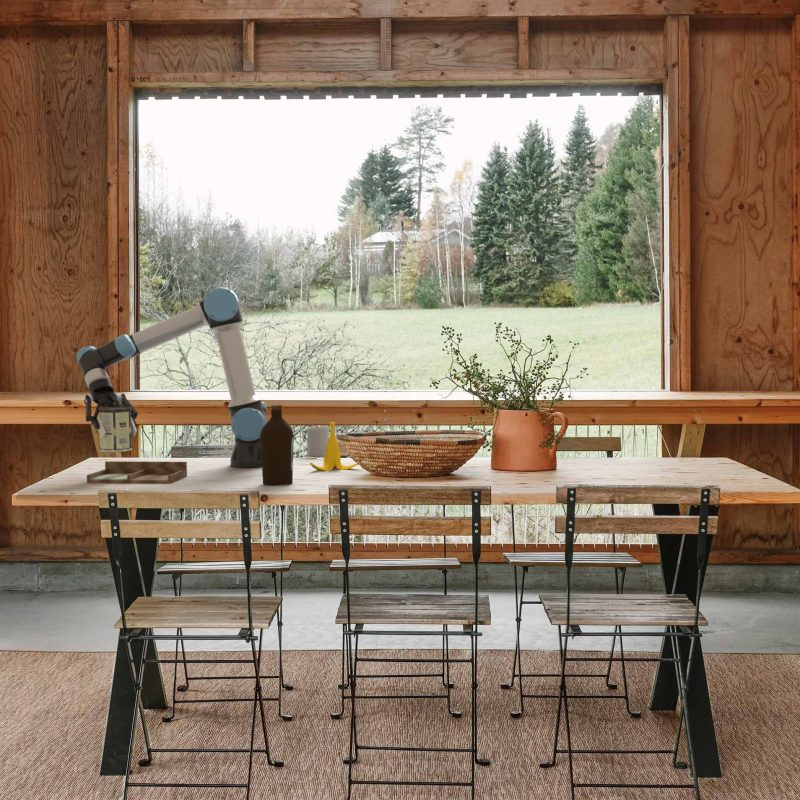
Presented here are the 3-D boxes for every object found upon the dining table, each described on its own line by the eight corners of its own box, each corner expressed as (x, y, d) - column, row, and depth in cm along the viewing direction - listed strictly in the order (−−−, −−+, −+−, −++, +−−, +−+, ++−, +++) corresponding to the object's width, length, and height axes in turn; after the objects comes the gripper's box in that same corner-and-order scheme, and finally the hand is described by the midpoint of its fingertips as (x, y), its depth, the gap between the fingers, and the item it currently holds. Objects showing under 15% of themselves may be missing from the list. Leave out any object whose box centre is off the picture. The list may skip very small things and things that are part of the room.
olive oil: (264, 487, 305) (263, 406, 303) (257, 482, 315) (256, 404, 313) (298, 485, 308) (297, 405, 307) (290, 480, 318) (288, 403, 317)
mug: (323, 457, 379) (323, 429, 378) (303, 457, 382) (303, 428, 381) (336, 454, 390) (335, 426, 390) (316, 453, 393) (316, 426, 392)
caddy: (187, 476, 330) (186, 461, 330) (171, 483, 314) (171, 467, 314) (106, 475, 333) (106, 461, 332) (87, 482, 317) (86, 467, 316)
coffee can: (112, 448, 330) (111, 406, 329) (138, 449, 327) (137, 407, 326) (93, 451, 320) (92, 408, 319) (119, 452, 317) (119, 409, 316)
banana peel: (309, 472, 338) (308, 424, 337) (324, 465, 357) (323, 419, 356) (355, 473, 335) (355, 424, 334) (368, 466, 353) (368, 420, 352)
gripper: (127, 391, 341) (148, 439, 330) (63, 393, 327) (82, 444, 316) (134, 376, 337) (155, 425, 326) (69, 378, 322) (88, 429, 311)
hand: (119, 434), depth 321 cm, fingers closed on coffee can, 10 cm apart
